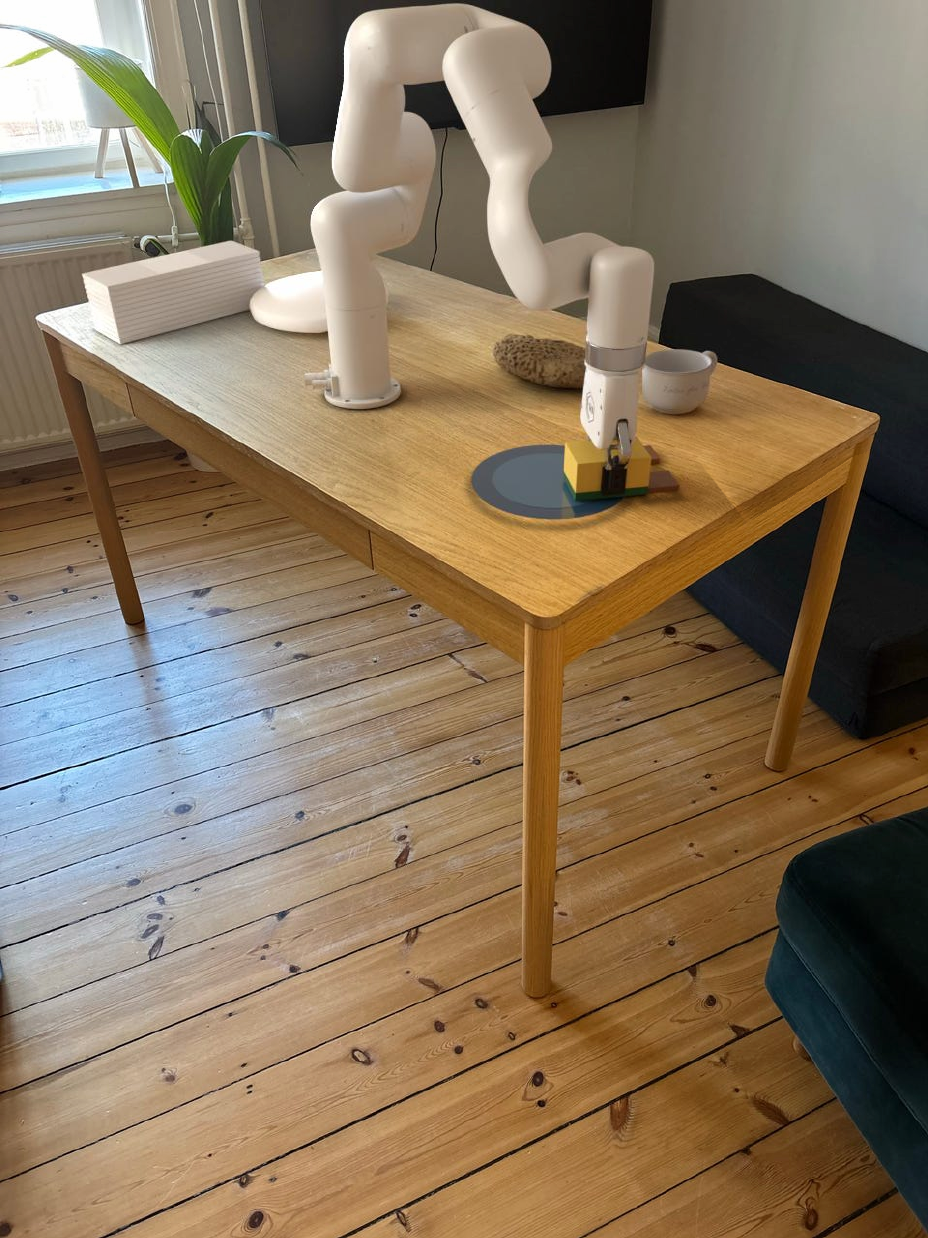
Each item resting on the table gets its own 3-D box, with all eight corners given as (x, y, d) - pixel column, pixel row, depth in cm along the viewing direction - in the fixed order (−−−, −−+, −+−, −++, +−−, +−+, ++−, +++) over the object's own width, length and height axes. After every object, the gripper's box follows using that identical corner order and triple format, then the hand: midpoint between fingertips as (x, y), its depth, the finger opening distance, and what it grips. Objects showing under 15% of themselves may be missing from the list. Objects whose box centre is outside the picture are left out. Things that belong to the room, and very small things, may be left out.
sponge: (485, 378, 171) (553, 393, 155) (487, 332, 169) (557, 342, 153) (546, 376, 178) (617, 390, 162) (549, 331, 175) (622, 341, 159)
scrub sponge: (575, 501, 130) (577, 463, 127) (563, 478, 136) (565, 442, 132) (647, 494, 132) (651, 457, 128) (633, 472, 137) (636, 435, 134)
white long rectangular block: (238, 293, 207) (231, 240, 201) (266, 305, 201) (259, 250, 194) (95, 329, 190) (81, 273, 184) (120, 344, 184) (107, 286, 177)
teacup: (661, 425, 152) (667, 376, 148) (625, 400, 160) (629, 352, 156) (736, 410, 157) (743, 361, 152) (696, 385, 165) (703, 339, 160)
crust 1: (629, 473, 140) (630, 461, 138) (620, 459, 143) (621, 447, 142) (658, 471, 140) (660, 458, 139) (649, 457, 144) (650, 444, 143)
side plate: (486, 535, 127) (486, 526, 126) (459, 458, 144) (458, 450, 143) (650, 519, 129) (651, 510, 129) (604, 446, 147) (605, 438, 146)
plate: (319, 324, 177) (217, 298, 190) (325, 358, 181) (225, 330, 194) (414, 269, 193) (315, 248, 206) (418, 301, 198) (320, 279, 211)
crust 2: (646, 501, 133) (648, 488, 132) (636, 485, 137) (638, 472, 136) (677, 498, 134) (679, 485, 133) (667, 483, 137) (668, 470, 136)
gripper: (568, 331, 129) (562, 454, 140) (605, 382, 115) (595, 515, 126) (623, 327, 130) (613, 450, 141) (667, 377, 116) (651, 509, 127)
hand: (605, 479), depth 133 cm, fingers closed on scrub sponge, 6 cm apart
